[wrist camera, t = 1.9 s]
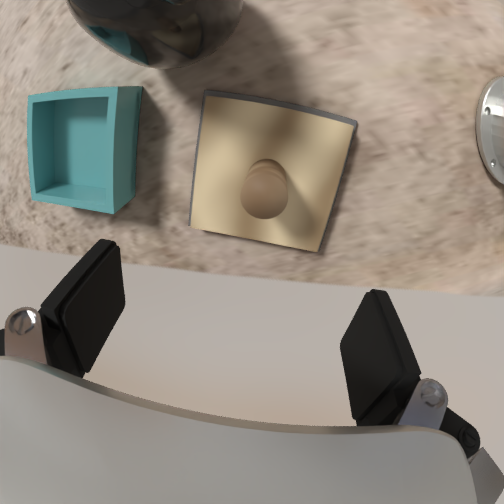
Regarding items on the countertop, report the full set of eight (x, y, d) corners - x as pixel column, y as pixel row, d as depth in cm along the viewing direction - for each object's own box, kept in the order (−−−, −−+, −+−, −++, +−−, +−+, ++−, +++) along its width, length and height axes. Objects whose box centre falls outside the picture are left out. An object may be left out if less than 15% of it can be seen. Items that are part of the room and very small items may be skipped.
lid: (350, 124, 21) (373, 134, 16) (315, 245, 27) (323, 284, 22) (209, 95, 21) (187, 96, 16) (193, 222, 27) (173, 255, 22)
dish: (142, 86, 21) (118, 86, 17) (135, 196, 27) (113, 214, 23) (56, 91, 21) (28, 95, 17) (56, 185, 27) (32, 200, 23)
